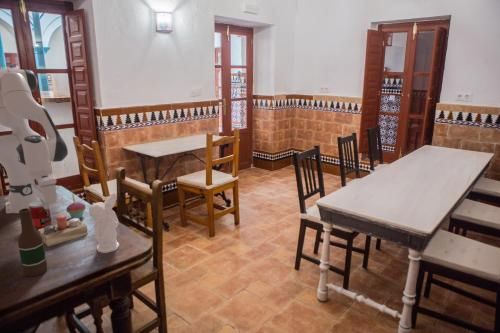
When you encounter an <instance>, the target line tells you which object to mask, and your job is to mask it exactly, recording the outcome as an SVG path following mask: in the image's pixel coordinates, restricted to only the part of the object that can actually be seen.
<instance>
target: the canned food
mask: <svg viewBox="0 0 500 333" xmlns="http://www.w3.org/2000/svg"><path fill="white" fill-rule="evenodd" d="M29 209H30V210H31V217H32V221H33V225H34V227H35V229H42V228H44V227H46V226H49V225H52V222H53V221H52V216H51V215H52V214H51V210H50V208H49V209H44V208H43V207H42V203H41V200H39V201H34V202H32V203H30V204H29Z"/></svg>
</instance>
